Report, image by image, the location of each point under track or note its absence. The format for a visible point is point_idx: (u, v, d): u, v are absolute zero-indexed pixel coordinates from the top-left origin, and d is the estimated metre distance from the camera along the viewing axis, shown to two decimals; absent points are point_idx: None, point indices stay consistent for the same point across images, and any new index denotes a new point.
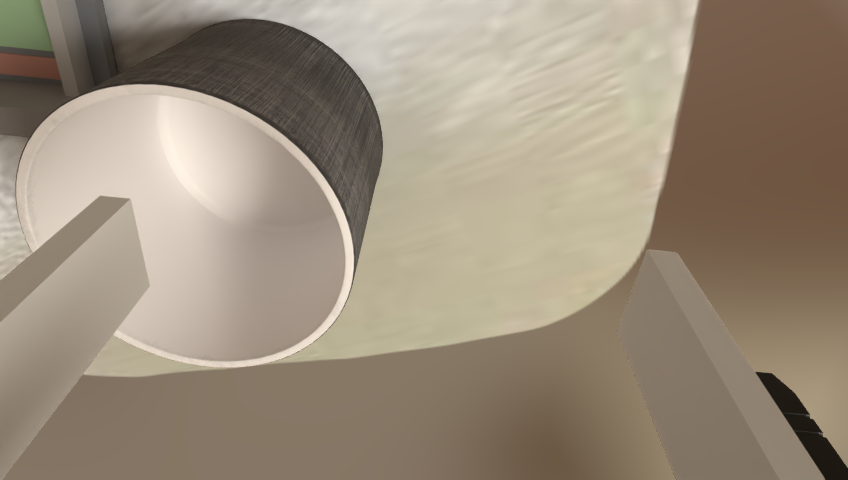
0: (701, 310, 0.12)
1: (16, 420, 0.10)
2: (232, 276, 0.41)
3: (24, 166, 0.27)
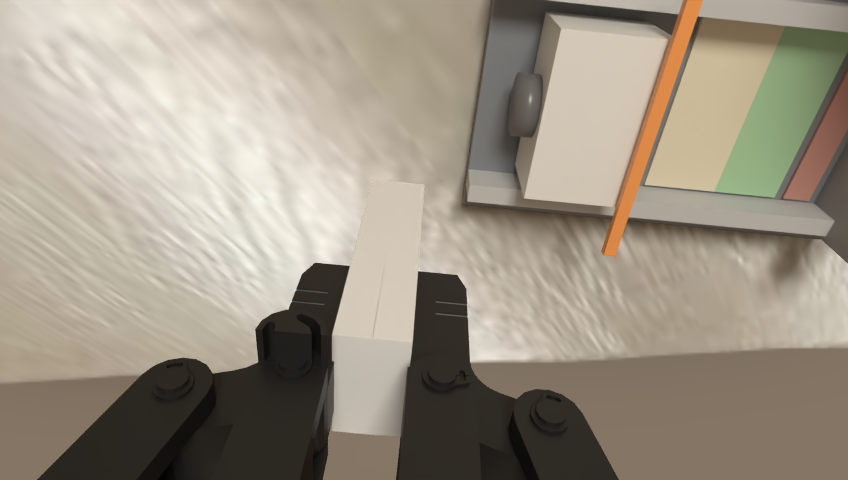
0: (409, 224, 0.13)
1: None
2: None
3: None
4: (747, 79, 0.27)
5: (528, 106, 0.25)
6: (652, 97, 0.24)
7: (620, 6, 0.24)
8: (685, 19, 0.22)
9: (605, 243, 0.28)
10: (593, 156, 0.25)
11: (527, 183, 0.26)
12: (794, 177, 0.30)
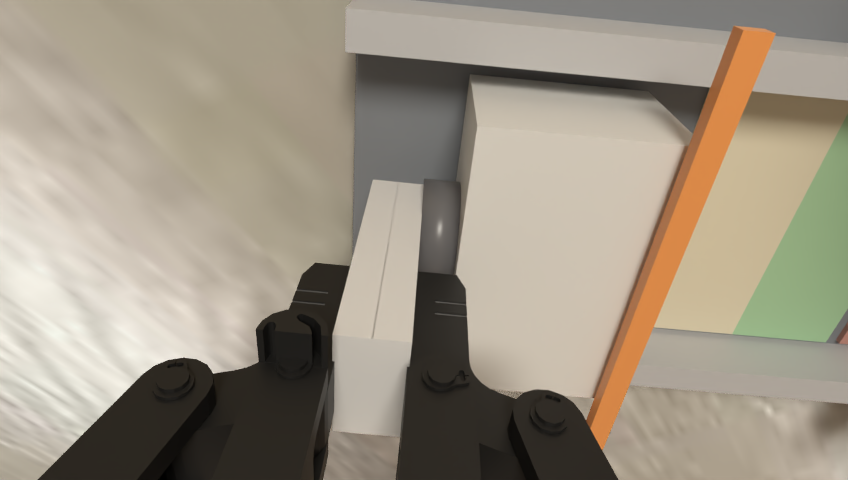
0: (408, 224, 0.13)
1: None
2: None
3: None
4: (789, 177, 0.16)
5: (434, 247, 0.14)
6: (654, 244, 0.13)
7: (566, 70, 0.13)
8: (720, 114, 0.11)
9: None
10: (551, 328, 0.15)
11: None
12: None
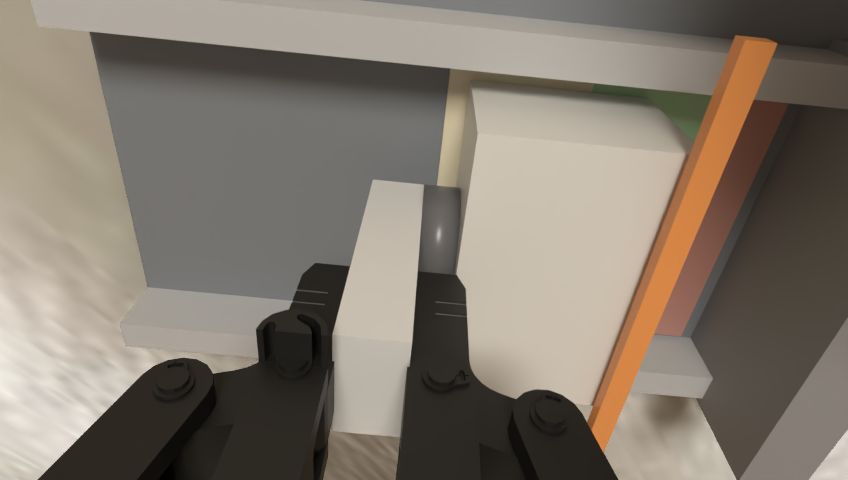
0: (408, 224, 0.13)
1: None
2: None
3: None
4: None
5: (434, 254, 0.14)
6: (654, 252, 0.13)
7: (263, 46, 0.13)
8: (721, 123, 0.11)
9: None
10: (551, 336, 0.15)
11: None
12: None
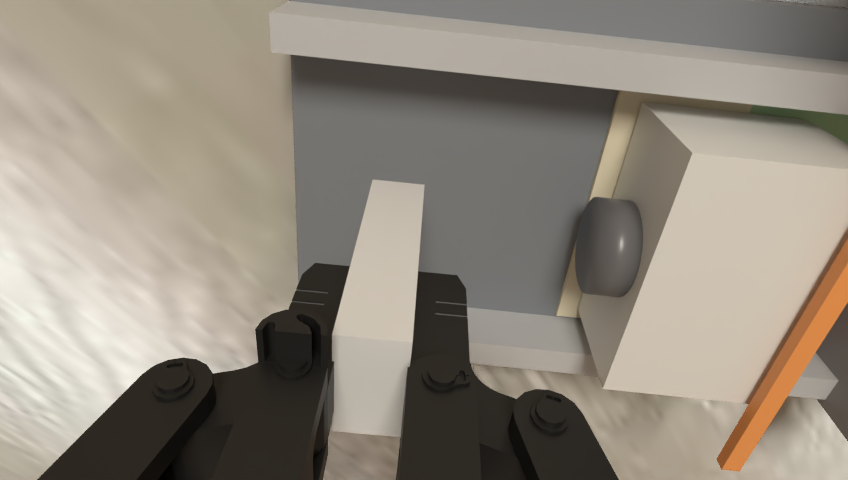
0: (408, 224, 0.13)
1: None
2: None
3: None
4: None
5: (619, 261, 0.15)
6: (837, 261, 0.14)
7: (473, 71, 0.14)
8: None
9: (725, 452, 0.18)
10: (720, 338, 0.16)
11: (609, 369, 0.17)
12: None
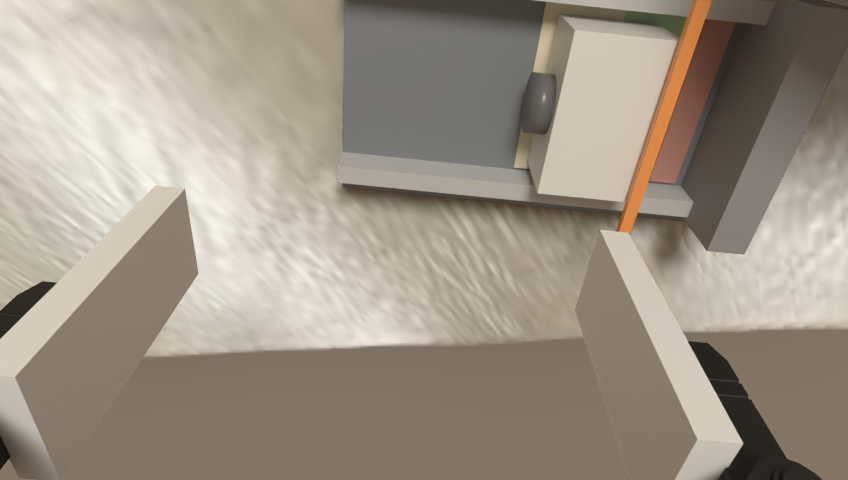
0: (644, 284, 0.12)
1: (93, 393, 0.11)
2: None
3: None
4: None
5: (542, 104, 0.26)
6: (661, 96, 0.25)
7: None
8: (693, 21, 0.23)
9: None
10: (604, 153, 0.27)
11: (540, 178, 0.27)
12: (657, 160, 0.31)
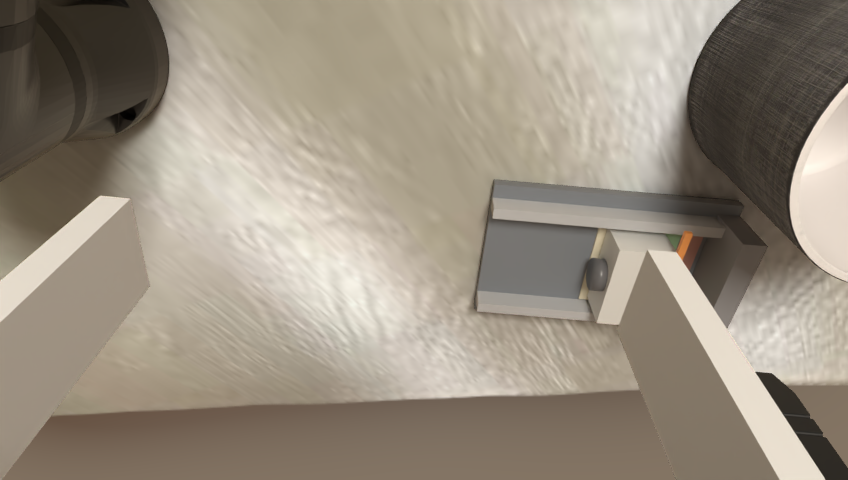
0: (701, 310, 0.12)
1: (16, 420, 0.10)
2: None
3: (827, 267, 0.33)
4: None
5: (600, 280, 0.48)
6: None
7: (554, 223, 0.47)
8: (681, 249, 0.44)
9: None
10: None
11: (598, 316, 0.49)
12: None
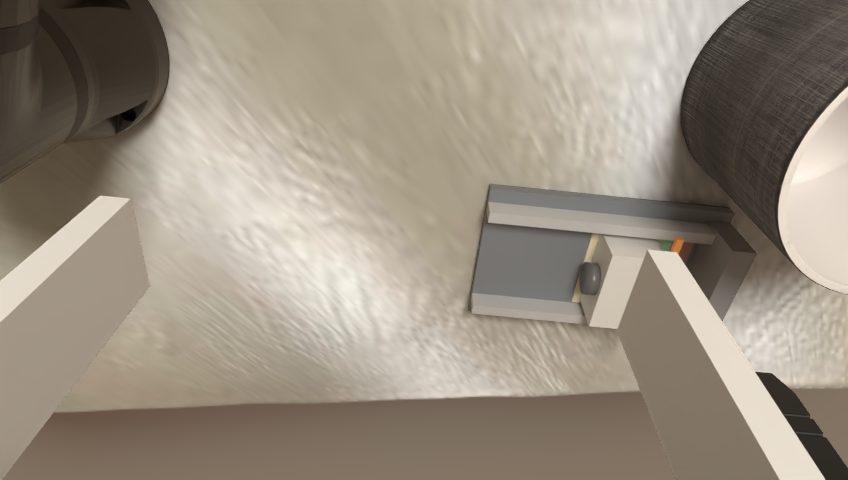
0: (701, 310, 0.12)
1: (16, 420, 0.10)
2: None
3: (813, 275, 0.34)
4: None
5: (593, 284, 0.49)
6: None
7: (549, 228, 0.48)
8: None
9: None
10: None
11: (591, 319, 0.50)
12: None
